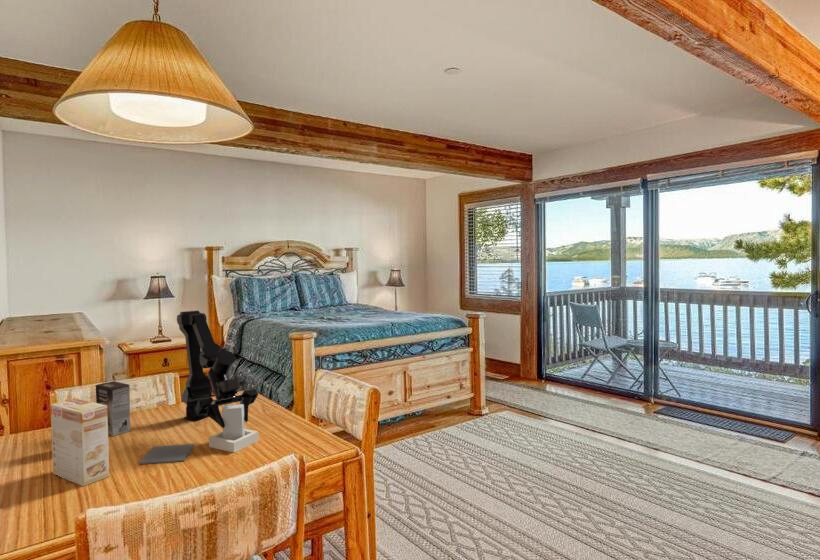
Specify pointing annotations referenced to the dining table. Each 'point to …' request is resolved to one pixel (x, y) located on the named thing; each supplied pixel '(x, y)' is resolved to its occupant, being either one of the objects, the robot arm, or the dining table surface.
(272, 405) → the dining table surface
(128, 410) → the coffee box
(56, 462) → the coffeecake box
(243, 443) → the white square frame
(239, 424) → the skincare box
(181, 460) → the mat
